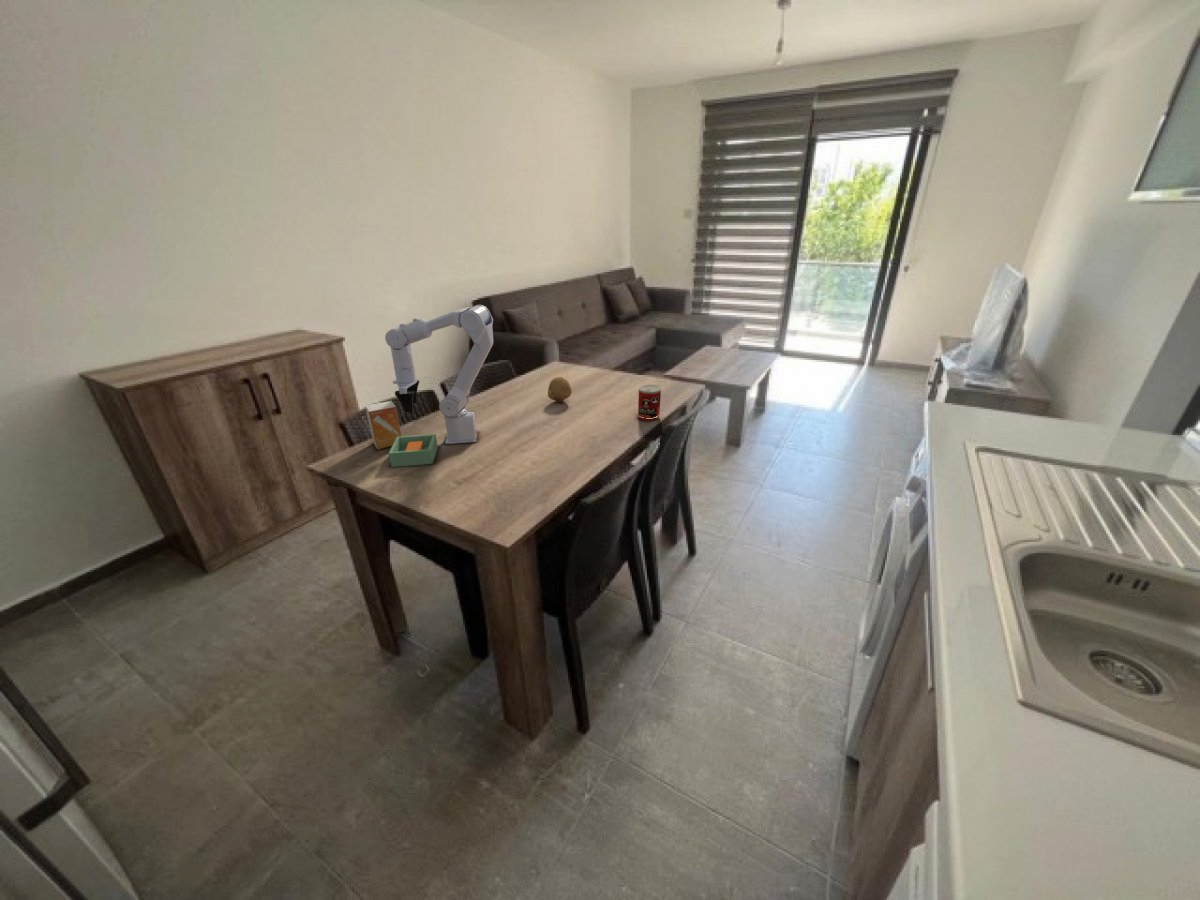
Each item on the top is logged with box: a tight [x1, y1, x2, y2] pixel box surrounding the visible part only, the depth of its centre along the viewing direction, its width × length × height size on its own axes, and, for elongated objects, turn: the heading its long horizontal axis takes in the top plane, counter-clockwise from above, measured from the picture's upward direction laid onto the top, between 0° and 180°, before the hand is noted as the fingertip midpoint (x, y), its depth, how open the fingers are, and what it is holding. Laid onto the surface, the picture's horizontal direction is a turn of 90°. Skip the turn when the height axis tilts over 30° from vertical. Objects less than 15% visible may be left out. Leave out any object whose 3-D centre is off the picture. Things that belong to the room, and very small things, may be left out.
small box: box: [364, 400, 403, 451], centre depth 151 cm, size 8×6×13 cm
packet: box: [405, 441, 424, 451], centre depth 145 cm, size 4×7×3 cm, turn 10°
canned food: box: [637, 384, 662, 422], centre depth 171 cm, size 8×8×11 cm
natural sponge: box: [547, 376, 573, 403], centre depth 185 cm, size 9×9×10 cm
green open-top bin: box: [388, 433, 439, 468], centre depth 145 cm, size 12×12×4 cm
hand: (410, 407), depth 154 cm, fingers open, 7 cm apart
